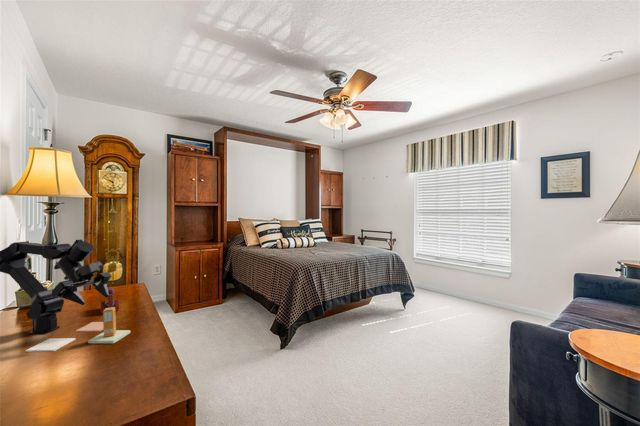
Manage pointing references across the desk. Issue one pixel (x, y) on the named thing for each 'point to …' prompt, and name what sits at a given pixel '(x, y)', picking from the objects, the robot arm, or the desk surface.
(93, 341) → the sage tile
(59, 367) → the desk surface
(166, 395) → the desk surface
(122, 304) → the desk surface
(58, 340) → the white tile
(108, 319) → the supplement box
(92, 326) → the terracotta tile
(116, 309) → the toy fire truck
